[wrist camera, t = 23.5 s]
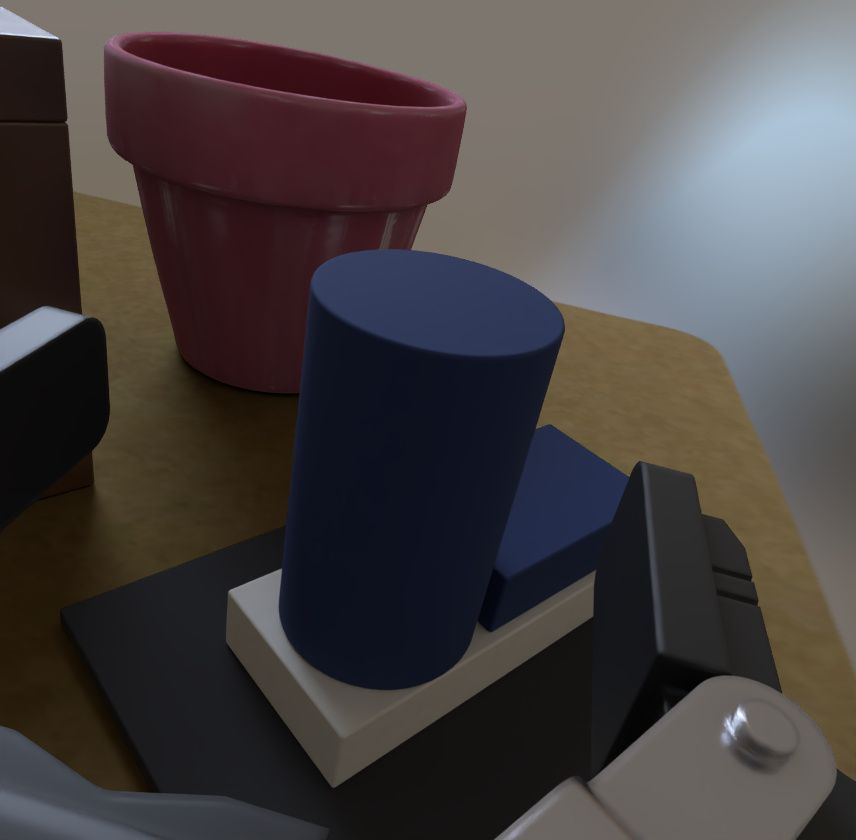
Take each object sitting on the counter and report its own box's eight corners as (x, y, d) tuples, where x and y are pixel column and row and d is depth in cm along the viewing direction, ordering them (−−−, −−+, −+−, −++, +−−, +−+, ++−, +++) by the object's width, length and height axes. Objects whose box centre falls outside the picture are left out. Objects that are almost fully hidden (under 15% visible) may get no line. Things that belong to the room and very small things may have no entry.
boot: (332, 791, 17) (408, 386, 12) (224, 641, 20) (242, 262, 15) (627, 595, 25) (761, 291, 19) (516, 507, 28) (604, 222, 22)
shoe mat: (292, 1051, 14) (295, 1038, 13) (60, 623, 21) (58, 608, 20) (723, 667, 24) (730, 655, 23) (468, 466, 31) (471, 455, 30)
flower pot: (309, 275, 45) (332, 42, 38) (474, 381, 37) (539, 112, 30) (65, 312, 36) (40, 14, 29) (217, 464, 28) (230, 103, 21)
